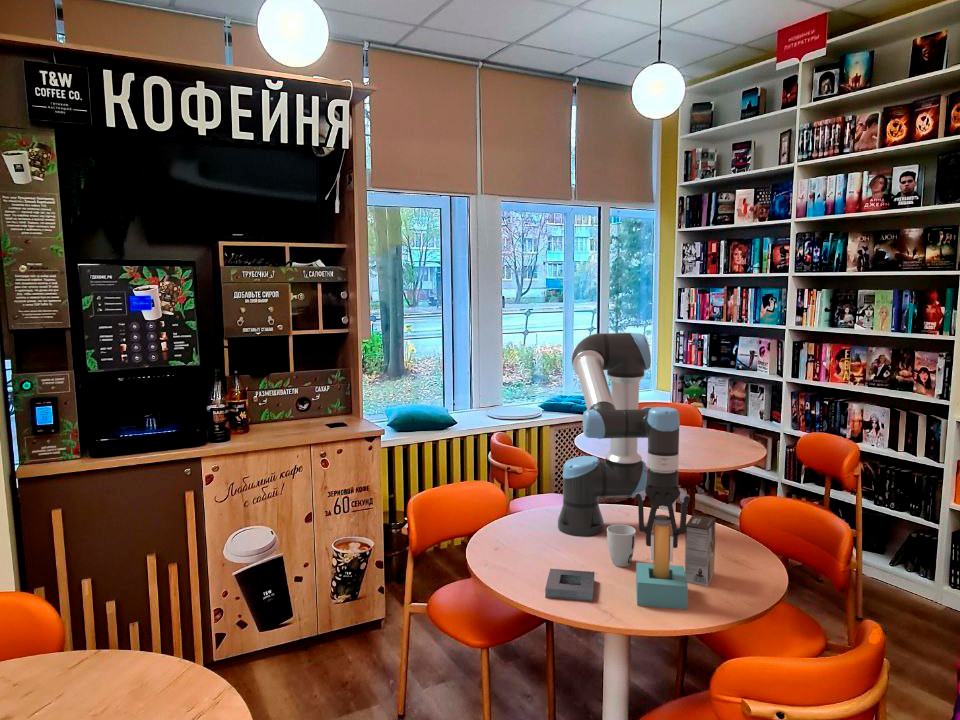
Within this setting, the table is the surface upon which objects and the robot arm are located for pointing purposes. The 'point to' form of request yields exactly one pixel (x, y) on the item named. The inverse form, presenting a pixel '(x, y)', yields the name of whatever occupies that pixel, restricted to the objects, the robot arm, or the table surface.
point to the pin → (661, 547)
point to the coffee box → (700, 550)
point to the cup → (621, 544)
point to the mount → (573, 592)
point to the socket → (661, 587)
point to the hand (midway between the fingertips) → (661, 558)
